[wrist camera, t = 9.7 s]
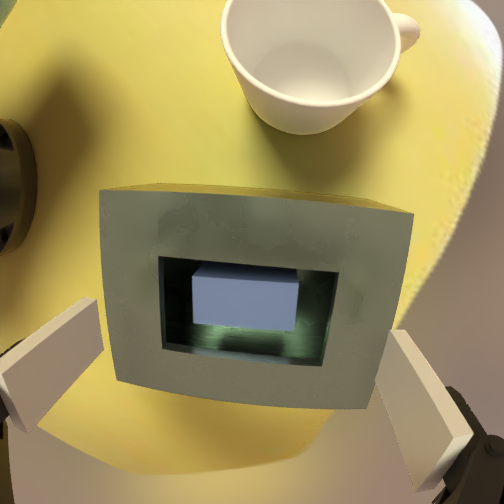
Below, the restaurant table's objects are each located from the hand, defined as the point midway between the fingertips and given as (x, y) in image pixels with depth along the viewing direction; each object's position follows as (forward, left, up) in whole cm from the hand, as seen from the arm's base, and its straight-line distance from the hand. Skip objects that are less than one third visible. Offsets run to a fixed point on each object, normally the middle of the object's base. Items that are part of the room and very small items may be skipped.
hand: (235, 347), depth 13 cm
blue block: (0, 0, -11) cm, 11 cm away
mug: (+4, +15, -12) cm, 20 cm away
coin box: (0, 0, -12) cm, 12 cm away
